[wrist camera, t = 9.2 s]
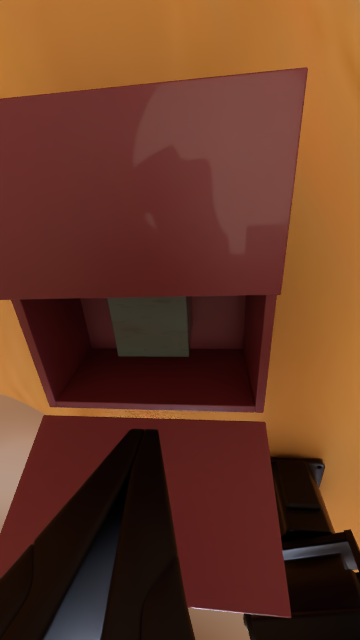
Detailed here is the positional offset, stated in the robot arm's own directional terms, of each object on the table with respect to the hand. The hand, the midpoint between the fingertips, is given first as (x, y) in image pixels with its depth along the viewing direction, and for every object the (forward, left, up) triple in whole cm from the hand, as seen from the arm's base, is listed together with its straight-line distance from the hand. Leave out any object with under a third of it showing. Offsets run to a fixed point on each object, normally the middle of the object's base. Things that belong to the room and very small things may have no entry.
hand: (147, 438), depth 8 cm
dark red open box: (+2, +2, -13) cm, 13 cm away
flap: (-7, +2, -2) cm, 7 cm away
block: (+2, +2, -10) cm, 10 cm away
